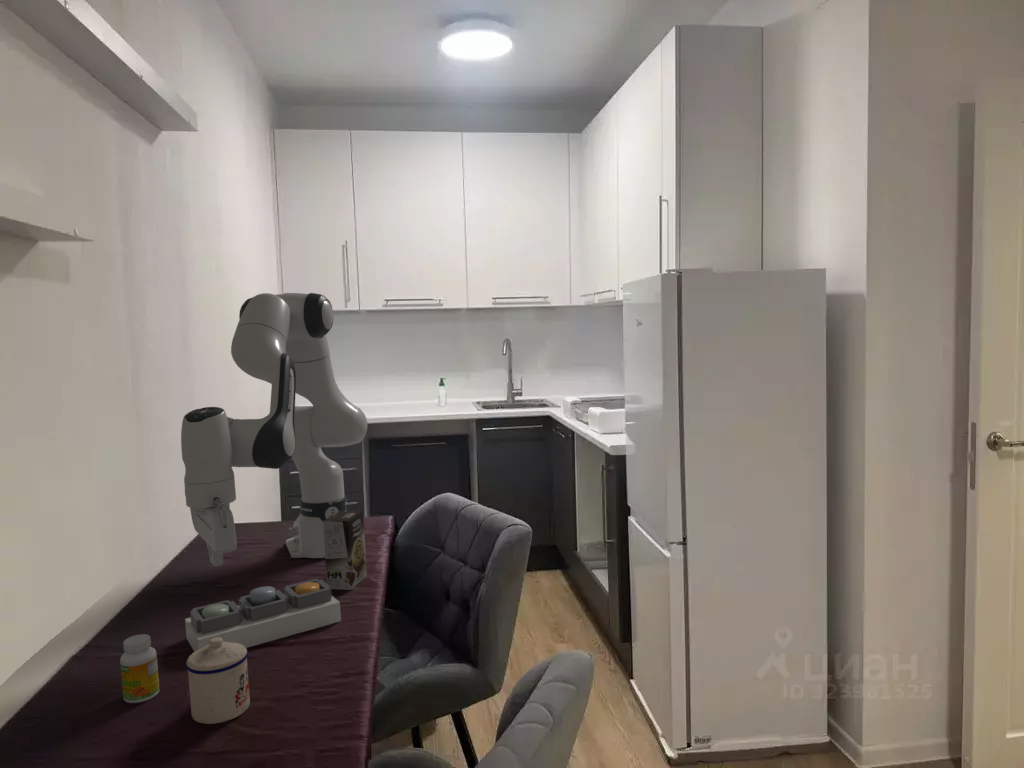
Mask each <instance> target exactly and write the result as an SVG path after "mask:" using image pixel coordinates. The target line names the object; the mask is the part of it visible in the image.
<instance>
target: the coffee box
mask: <svg viewBox="0 0 1024 768" xmlns="http://www.w3.org/2000/svg"><path fill="white" fill-rule="evenodd" d="M364 517H365V516H364V511H363V510H346V511H339V512H337V513H336V514H334V515H332V516H331V517H329V518H327V519H326V520H324V521H323V525H324V544H325V558H324V559H325V579H326V583H327V584H328V585H329V586H331V590H341V591H342V590H343V591H352V590H354V588H356V587H357V586H358V585H359V584H360V583H362V581H363V580H365V579H366V578H367V577H368V573H367V572H368V571H367V570H368V569H367V554H366V553H367V552H366V537H365V521H364V519H365V518H364Z"/></svg>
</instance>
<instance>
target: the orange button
mask: <svg viewBox="0 0 1024 768" xmlns="http://www.w3.org/2000/svg"><path fill="white" fill-rule="evenodd" d="M317 590H320V588H319V584H318V583H315V582H308V583H303V584H300V585H298V586H296V587H295V592H296V593H297V594H298V595H301V594H305V593H309V592H313V591H317Z"/></svg>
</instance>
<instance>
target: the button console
mask: <svg viewBox="0 0 1024 768" xmlns="http://www.w3.org/2000/svg"><path fill="white" fill-rule="evenodd" d="M308 582H315V583H318V584H319V588H320V590H317V591H313V592H309V593H305V594H301V595H298V594H297V593H296V592H295V587H296V586H298V585H300V584H303V583H308ZM275 594H276V600H275V601H273V602H269V603H265V604H261V605H252V604H251V603H250V594H247V595H243V596H240V597H239V599H238V605H237V603H236V602H235V601H234V600H231V601H230V600H229V599H226V600H222V601H218V602H214V603H210V604H206V605H202V606H198V607H194V608H191V610H190V611H189V614H190V617H187V618H185V619H184V623H185V624H184V625H185V634H186V635H185V636H186V640H187V642H188V643H189V645H190V647H191V649H192V650H193V653H194V652H195V651H197V650H199V649H201V648H203V647H205V646H207V645H209V641H210V640H211V639H213V638H216V637H220V638H222V639H223V642H233V643H239V644H242V645H243V646H244V647H245V648H246V649H247V648H250V647H254V646H258V645H261V644H265V643H268V642H272V641H276V640H280V639H282V638H283V639H284V638H286V637H290V636H293V635H296V634H297V635H298V634H300V633H304V632H308V631H311V630H315V629H319V628H322V627H325V626H329V625H332V624H335V623H340V622H341V621H342V617H341V616H342V615H341V614H342V613H341V601H339V599H337V598H335V597H334V596H333V595H332V589H331V586H329V585H328V584H327V582H326V581H324V580H323V579H318V578H313V579H309V580H305V581H300V582H297V583H293V584H289V585H284V588H283V592H282V591H281V590H280V589H275ZM217 604H225V605H228V606H229V613H225V614H221V615H217V616H213V617H209V618H205V619H203V618H202V610H203V609H204V608H206V607H209V606H212V605H217Z"/></svg>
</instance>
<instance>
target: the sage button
mask: <svg viewBox="0 0 1024 768" xmlns="http://www.w3.org/2000/svg"><path fill="white" fill-rule="evenodd" d="M225 613H229V606H228V605H225V604H217V605H212V606H209V607H206V608H204V609H203V610H202V618H203V619H205V618H209V617H213V616H217V615H221V614H225Z"/></svg>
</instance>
